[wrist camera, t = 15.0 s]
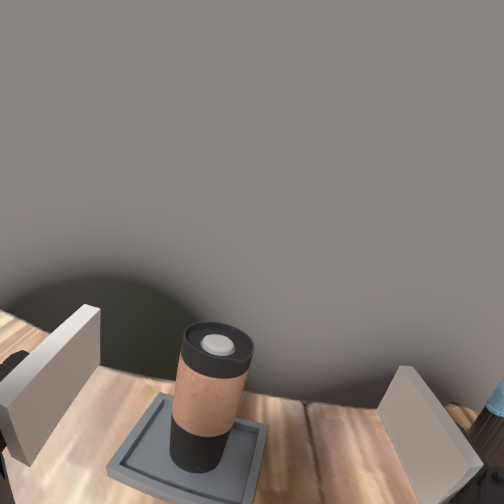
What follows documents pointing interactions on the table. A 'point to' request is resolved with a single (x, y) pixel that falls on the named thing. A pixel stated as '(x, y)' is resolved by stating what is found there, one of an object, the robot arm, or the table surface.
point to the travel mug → (207, 393)
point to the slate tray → (182, 482)
